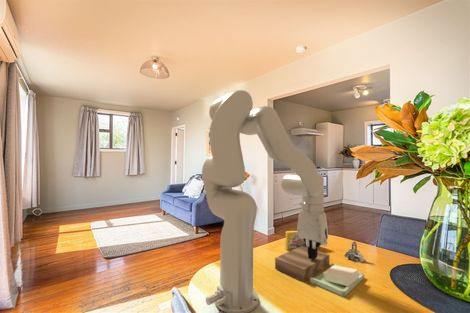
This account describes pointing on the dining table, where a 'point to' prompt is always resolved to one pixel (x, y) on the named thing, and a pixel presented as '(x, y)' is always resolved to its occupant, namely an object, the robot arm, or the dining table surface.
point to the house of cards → (354, 254)
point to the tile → (341, 275)
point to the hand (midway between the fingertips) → (312, 257)
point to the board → (301, 263)
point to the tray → (335, 284)
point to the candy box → (293, 241)
